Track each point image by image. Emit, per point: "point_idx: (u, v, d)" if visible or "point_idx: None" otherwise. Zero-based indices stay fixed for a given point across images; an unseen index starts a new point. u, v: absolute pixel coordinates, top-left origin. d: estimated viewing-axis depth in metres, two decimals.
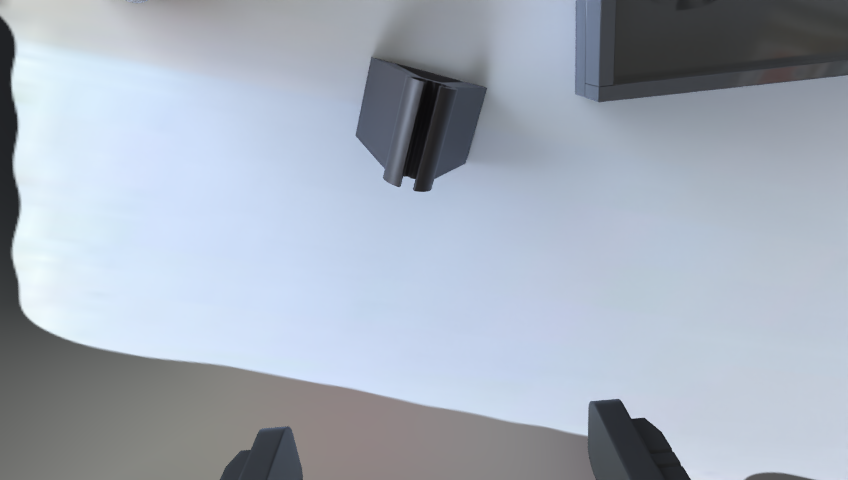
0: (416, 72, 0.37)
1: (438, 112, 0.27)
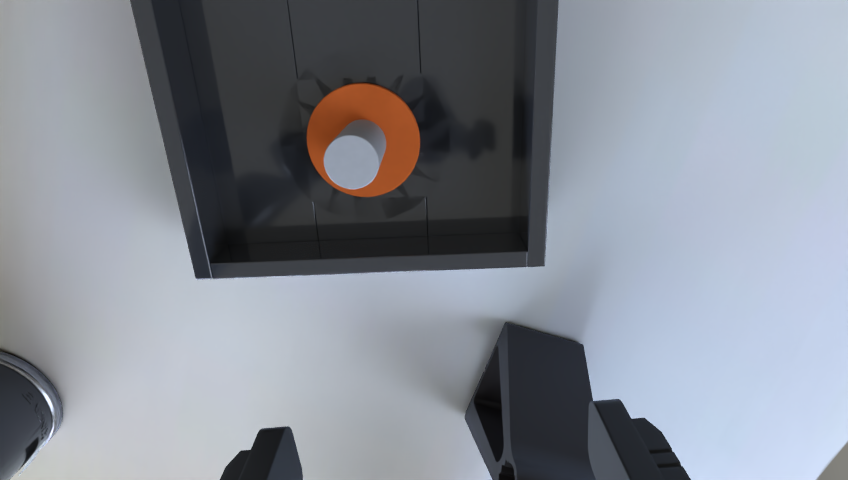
0: (483, 383, 0.37)
1: None
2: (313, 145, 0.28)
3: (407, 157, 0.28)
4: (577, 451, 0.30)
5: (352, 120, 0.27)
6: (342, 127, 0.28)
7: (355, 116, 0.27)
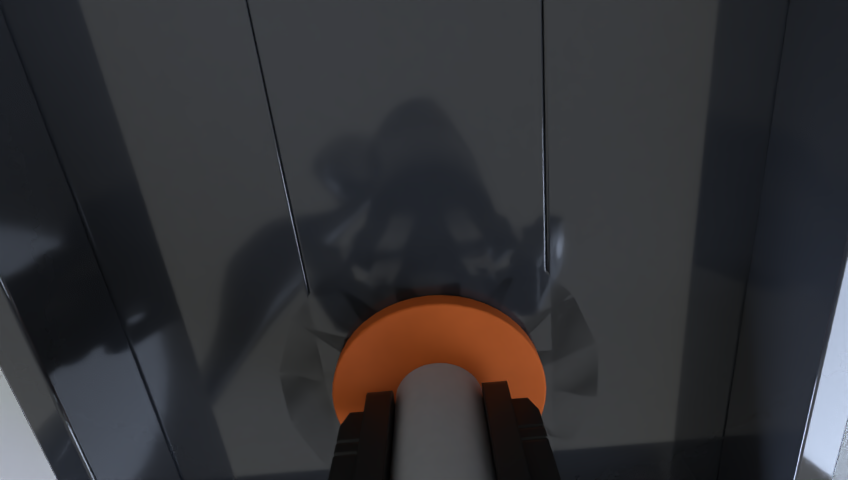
0: None
1: None
2: (344, 408, 0.15)
3: None
4: None
5: (418, 365, 0.14)
6: (399, 376, 0.15)
7: (423, 358, 0.14)
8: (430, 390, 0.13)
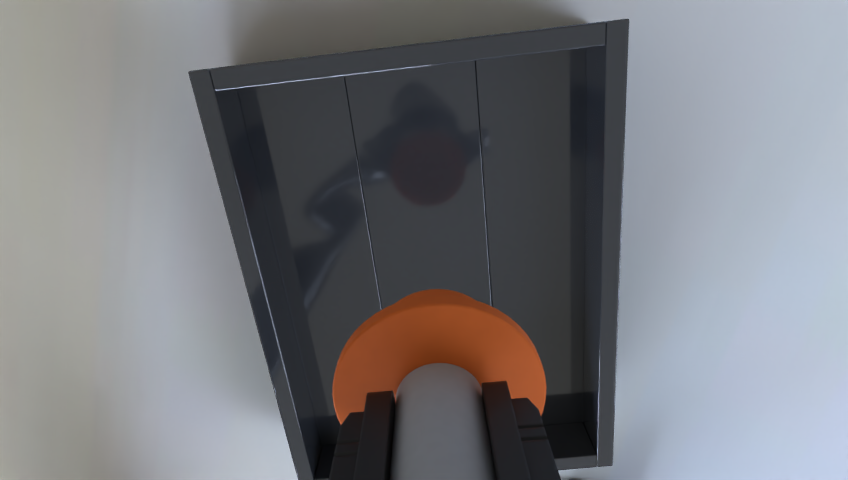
0: None
1: None
2: (345, 408, 0.15)
3: None
4: None
5: (418, 365, 0.14)
6: (399, 376, 0.15)
7: (424, 358, 0.14)
8: (430, 390, 0.13)
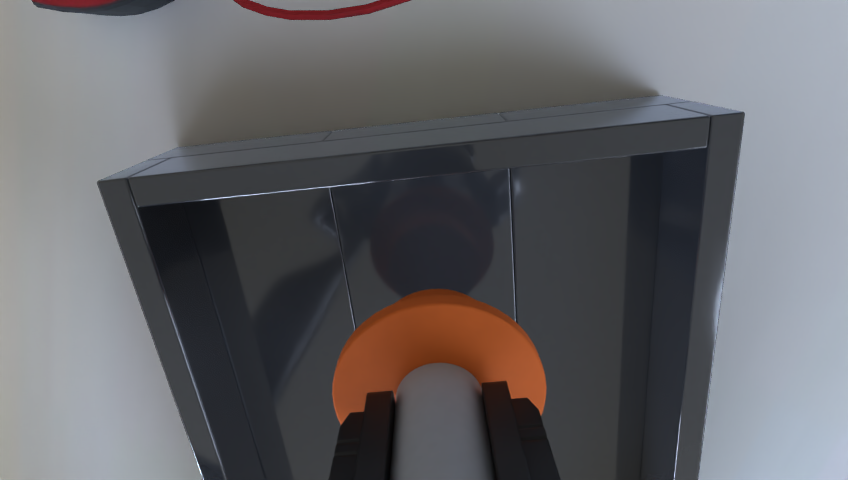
0: None
1: None
2: (345, 408, 0.15)
3: None
4: None
5: (418, 365, 0.14)
6: (399, 376, 0.15)
7: (424, 358, 0.14)
8: (430, 390, 0.13)
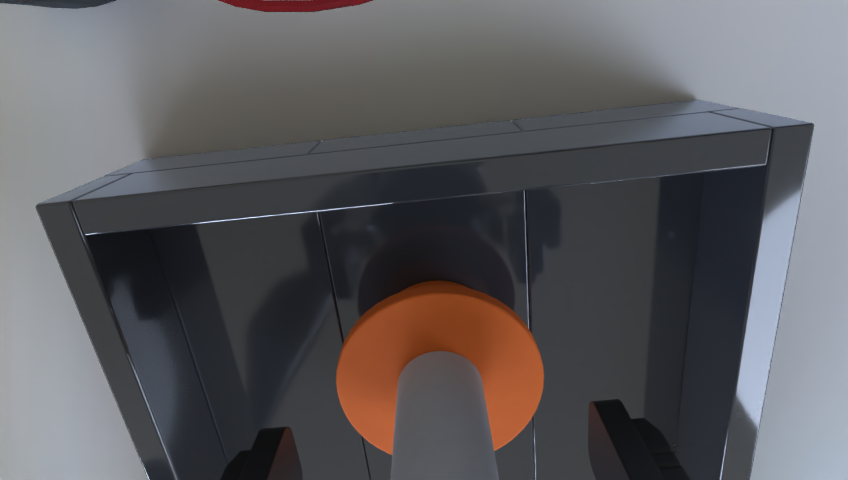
0: None
1: None
2: (348, 395, 0.15)
3: (520, 403, 0.15)
4: None
5: (419, 353, 0.15)
6: (401, 364, 0.15)
7: (425, 346, 0.15)
8: (431, 376, 0.14)
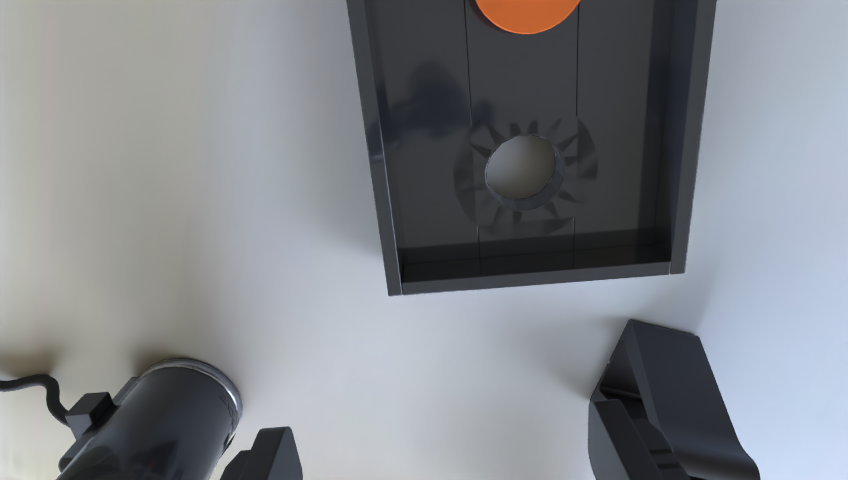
0: (607, 373, 0.43)
1: (693, 472, 0.31)
2: None
3: None
4: (714, 428, 0.35)
5: None
6: None
7: None
8: None
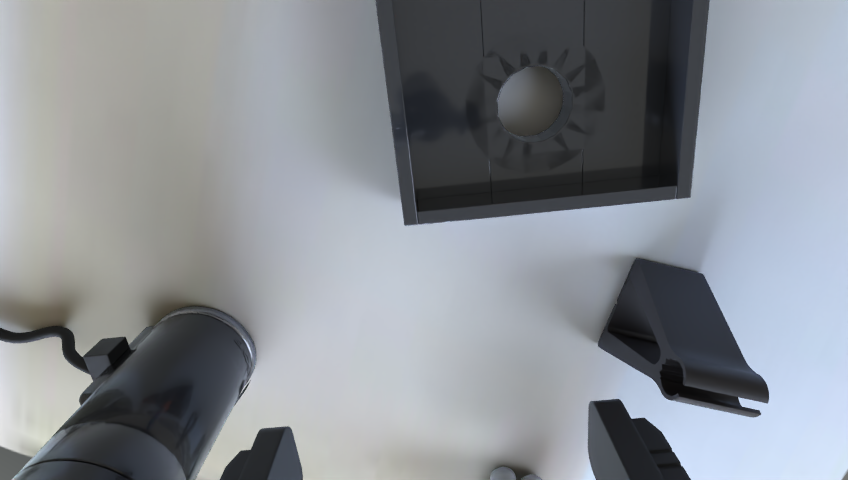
0: (615, 314, 0.44)
1: (704, 385, 0.32)
2: None
3: None
4: (722, 351, 0.36)
5: None
6: None
7: None
8: None
